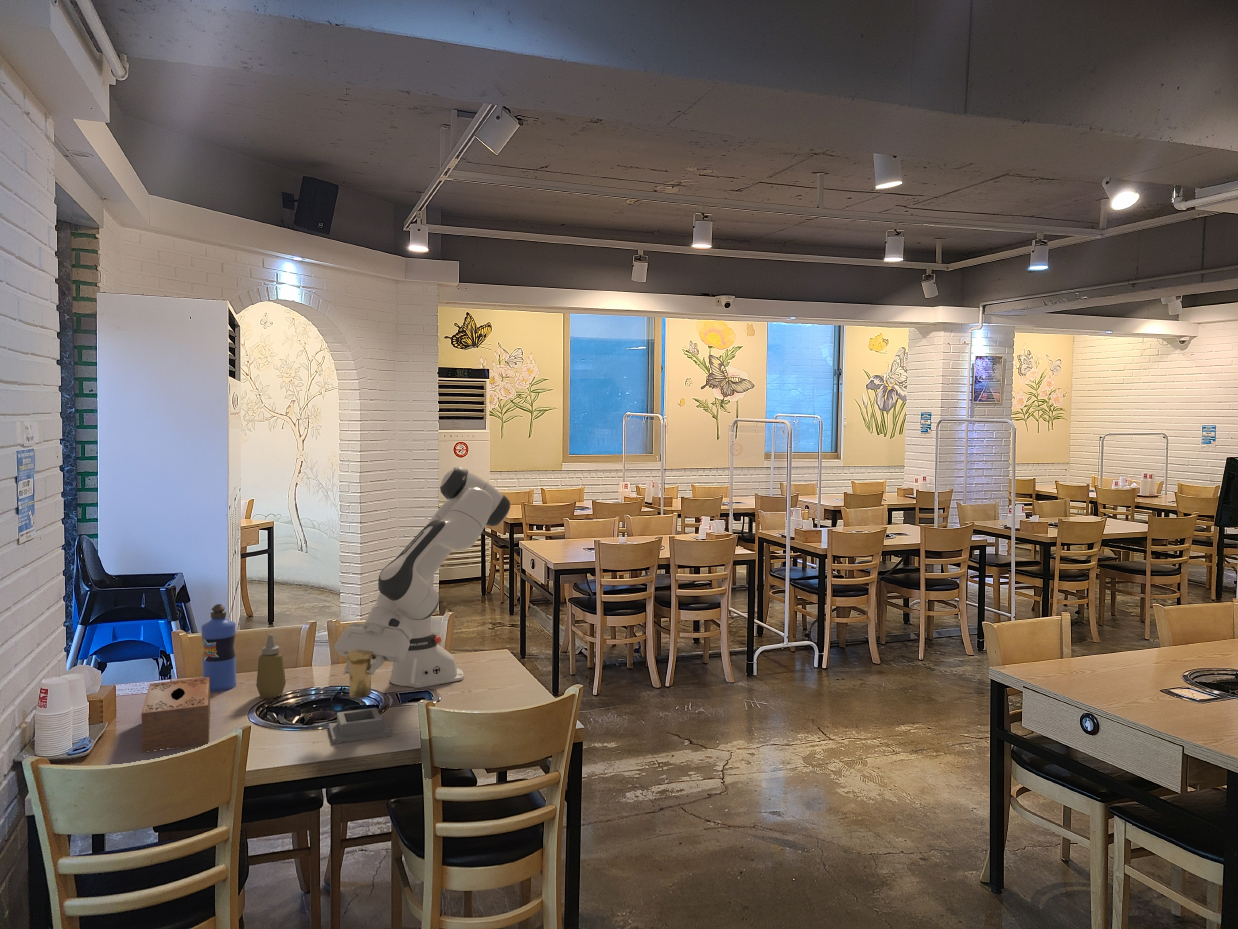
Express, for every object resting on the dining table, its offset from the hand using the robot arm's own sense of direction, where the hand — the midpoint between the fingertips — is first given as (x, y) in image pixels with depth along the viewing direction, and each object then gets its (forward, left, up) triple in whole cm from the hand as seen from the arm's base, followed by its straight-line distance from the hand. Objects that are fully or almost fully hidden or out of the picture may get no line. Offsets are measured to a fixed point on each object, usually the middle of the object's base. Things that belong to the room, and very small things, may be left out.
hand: (358, 672), depth 218 cm
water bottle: (+34, -56, -16) cm, 67 cm away
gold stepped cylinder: (0, 0, -6) cm, 6 cm away
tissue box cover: (+43, -20, -16) cm, 50 cm away
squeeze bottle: (+20, -41, -16) cm, 48 cm away
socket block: (0, -1, -16) cm, 16 cm away
